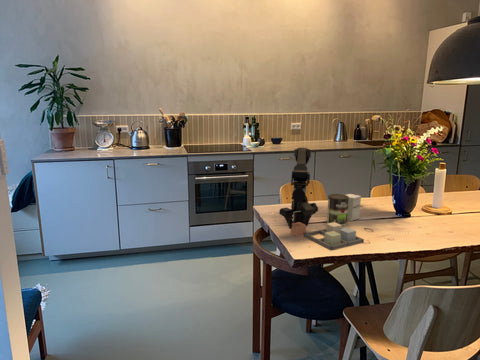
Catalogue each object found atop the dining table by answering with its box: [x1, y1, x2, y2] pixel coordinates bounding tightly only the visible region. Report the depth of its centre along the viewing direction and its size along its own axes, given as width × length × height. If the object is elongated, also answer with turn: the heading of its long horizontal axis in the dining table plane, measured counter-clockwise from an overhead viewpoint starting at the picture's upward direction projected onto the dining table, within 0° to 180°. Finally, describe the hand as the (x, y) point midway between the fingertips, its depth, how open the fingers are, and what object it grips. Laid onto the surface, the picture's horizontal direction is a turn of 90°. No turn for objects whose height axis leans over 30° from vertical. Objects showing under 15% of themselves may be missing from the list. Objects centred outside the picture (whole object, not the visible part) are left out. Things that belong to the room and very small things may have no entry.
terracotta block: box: [290, 222, 307, 238], centre depth 183 cm, size 5×5×5 cm
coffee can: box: [326, 193, 349, 227], centre depth 199 cm, size 10×10×14 cm
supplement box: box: [345, 193, 362, 222], centre depth 206 cm, size 7×7×13 cm
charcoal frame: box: [303, 222, 365, 251], centre depth 177 cm, size 19×19×5 cm
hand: (298, 227), depth 183 cm, fingers open, 9 cm apart
